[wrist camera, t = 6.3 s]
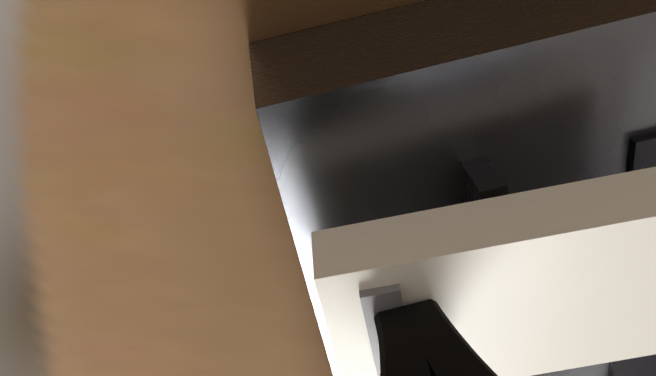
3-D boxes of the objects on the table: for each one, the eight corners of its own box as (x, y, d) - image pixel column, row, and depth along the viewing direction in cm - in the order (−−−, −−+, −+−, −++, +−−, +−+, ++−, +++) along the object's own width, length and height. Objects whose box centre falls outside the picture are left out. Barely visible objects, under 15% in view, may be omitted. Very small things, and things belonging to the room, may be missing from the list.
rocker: (692, 159, 13) (743, 207, 11) (669, 298, 15) (710, 352, 13) (311, 232, 13) (314, 286, 12) (344, 355, 15) (350, 414, 14)
